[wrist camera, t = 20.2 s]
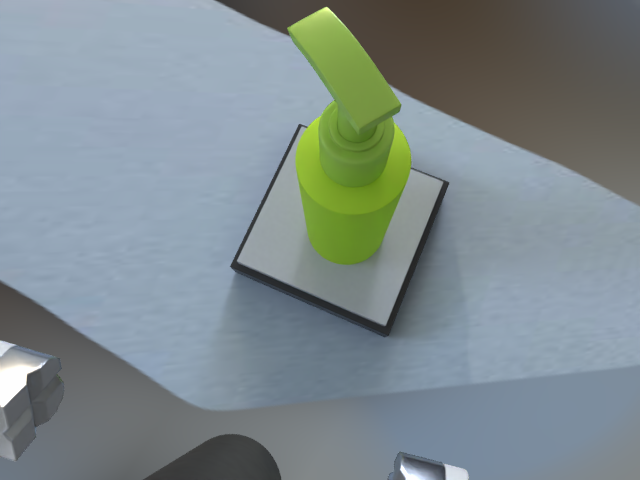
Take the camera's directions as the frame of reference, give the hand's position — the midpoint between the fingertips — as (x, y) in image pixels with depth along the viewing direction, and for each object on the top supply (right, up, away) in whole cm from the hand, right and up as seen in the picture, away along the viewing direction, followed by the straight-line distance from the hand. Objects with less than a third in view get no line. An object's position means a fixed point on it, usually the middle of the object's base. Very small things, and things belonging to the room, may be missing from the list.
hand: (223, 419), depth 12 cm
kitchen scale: (+4, +5, +30) cm, 30 cm away
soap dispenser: (+4, +6, +27) cm, 28 cm away
